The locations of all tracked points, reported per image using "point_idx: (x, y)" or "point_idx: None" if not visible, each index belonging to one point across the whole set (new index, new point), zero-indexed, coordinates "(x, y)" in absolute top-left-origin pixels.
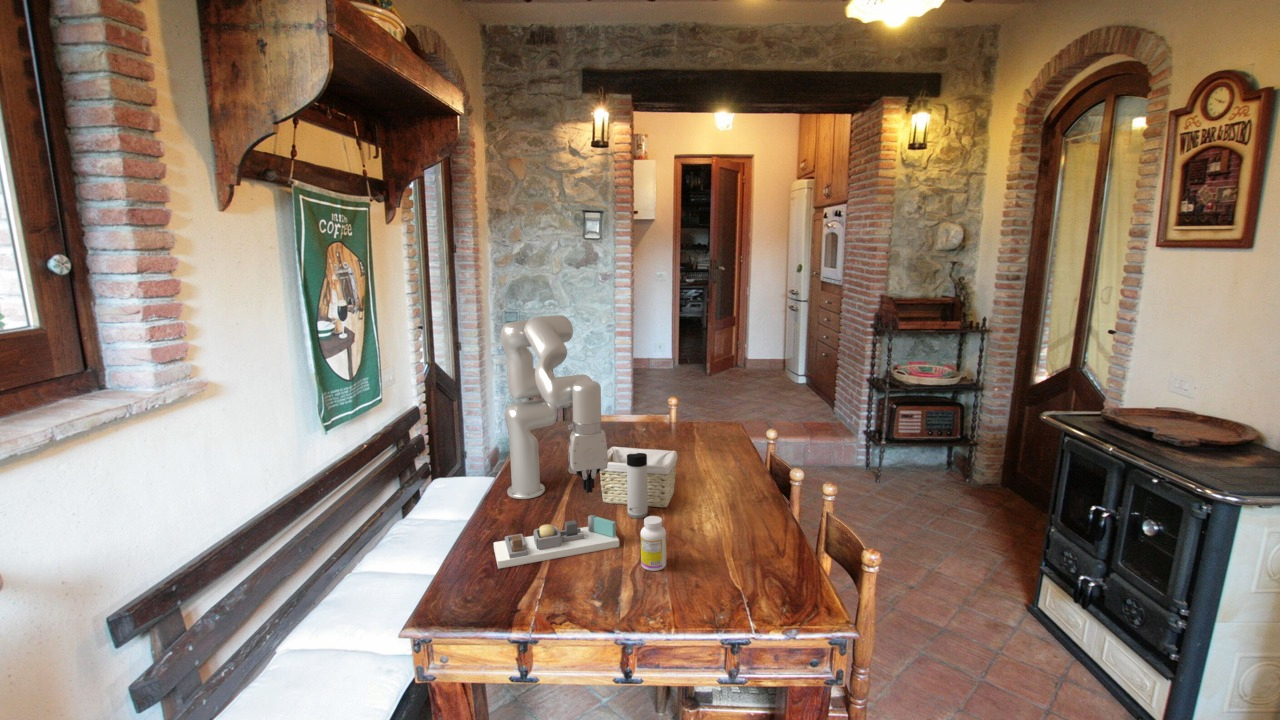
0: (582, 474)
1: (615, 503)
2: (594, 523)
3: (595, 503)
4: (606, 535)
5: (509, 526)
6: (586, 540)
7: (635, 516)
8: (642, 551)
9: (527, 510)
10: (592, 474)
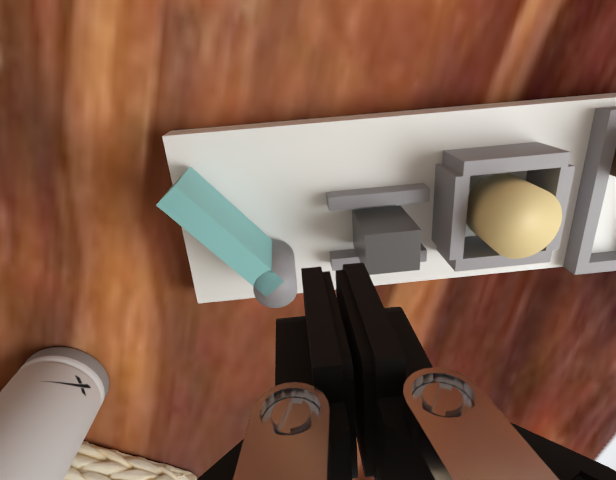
0: (523, 444)
1: (151, 461)
2: (268, 254)
3: None
4: None
5: (545, 381)
6: (318, 174)
7: (74, 354)
8: None
9: None
10: (312, 443)
